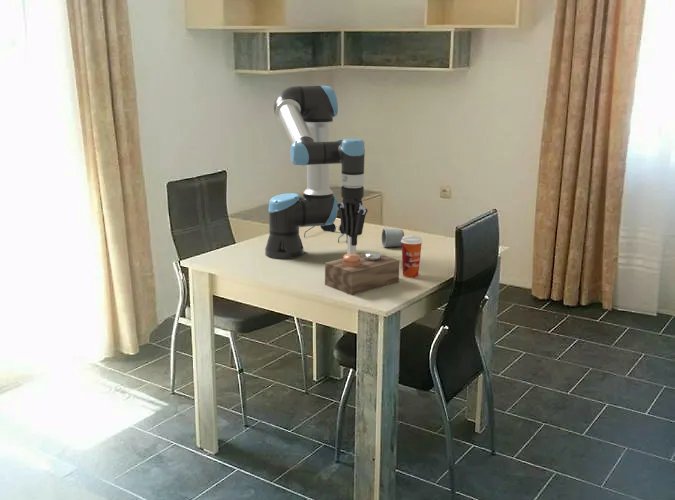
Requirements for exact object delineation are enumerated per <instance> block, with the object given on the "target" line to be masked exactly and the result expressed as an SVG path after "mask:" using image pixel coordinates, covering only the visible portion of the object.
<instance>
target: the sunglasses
mask: <svg viewBox="0 0 675 500" xmlns="http://www.w3.org/2000/svg"><path fill="white" fill-rule="evenodd" d="M315 227H316V226H311V227H310V228H309V229H307V230H305V231H304V233H303V235H304V236H303V238H306V233H307V232H308V231H310V230H311V229H313V228H315ZM320 228H321V230H323V231H324V232H331V233H334V232H336V231H337V228H338V231H339V232H340V233H341V235H339V237H338V239H337V243H338V244H339V243H340V238H341V237H343V236H345V235H346V233H345V232H343V231H342V226H341V224H340V225H339V226H336V224H335V222H334V223H333V224H331V225H324V226H320Z"/></svg>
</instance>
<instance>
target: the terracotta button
mask: <svg viewBox="0 0 675 500" xmlns="http://www.w3.org/2000/svg"><path fill="white" fill-rule="evenodd" d="M343 258H344V260H343V265H346V266H349V267H354V266H358V265H361V261H360V254H358V253H356V254H352V255H349V254H347V253H345V254H344V255H343Z"/></svg>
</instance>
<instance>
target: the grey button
mask: <svg viewBox="0 0 675 500" xmlns="http://www.w3.org/2000/svg"><path fill="white" fill-rule="evenodd" d="M381 255H382V253H381V252H378V251H367V252H365V258H364V259H366V260H369V261H372V262H374V261H378V260H382V259H381Z"/></svg>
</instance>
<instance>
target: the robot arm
mask: <svg viewBox="0 0 675 500" xmlns="http://www.w3.org/2000/svg"><path fill="white" fill-rule="evenodd" d="M273 111H274V115H275V117H276V118H277V120H278V121H279V122H280V123H281V124H282V125H283V128H284V130H285V133H286V134H287V137H288V139H289V141H290V143H291V145H290V147H289V157H290V162H291V164H293V165H294V166H306V186H307V187H306V189H305V190H303V194H302V195H303V196H302V197H300V196H299V194H298V193H294V192H293V193H292V192H291V193H282V194H281V193H280V194H278V195H275V196H273V197H271V198H270V200H269V202H268V224H269V225H268V226H269V227H268V228H269V229H268V230H269V232H268V233H269V234H268V238H267V242H266V246H265V249H264V251H265V253H264V254H265V256H267V257H268V258H272V259H281V260H282V259H284V260H286V259H295V258H299V257H301V256H303V255H304V254H305V253H304V252H305V251H304V250H305V249H304V245H303V242H302V238H301V236H300V228H305V227H306V228H307V227H313V226H315V227H321V226H324V225H331V224H333V223H334V224H335V221H336V219H337V216H338V211H339V218H340V225H341V226H342V231H343V232H345V233H346V234H345V235H346V245H347V247H346V254H349V255H352V254H357V245H358V237H359V236H361V235H363V229H364V224H365V219H366V216H367V213H368V209H367V208H365V207H364V206H363V201H362V200H363V198H364V195H365V187H364V185H365V156H366V154H365V153H366V149H365V141H364V140H363V139H361V138H354V137H353V138H344V139H336V140H334V141H330V131H329V130H330V125H331V124H332V123H333V122H334V118H335V117H337V116H338V111H339V103H338V97H337V94H336V92H335V90H334V89H333V87H332V86H329V85H300V86H299V85H292V86H288V87H287V88H284V89H283V90H282V91H281V92H279V94H278V95H277V97H276V98H275V101H274V103H273ZM331 164H332V165H333V164H334V165H335V164H336V165H337V164H341V187H340V189H341V190H340V194H341V195H340V196H341V198H342V200H341V201H342V202H340V203H339V202H338V198H337V196H336V195H335V194H334V192H333V190H331V188H330V165H331Z"/></svg>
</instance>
